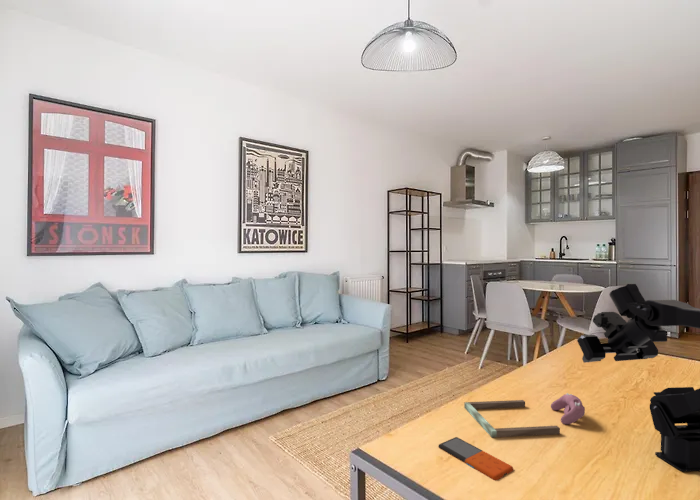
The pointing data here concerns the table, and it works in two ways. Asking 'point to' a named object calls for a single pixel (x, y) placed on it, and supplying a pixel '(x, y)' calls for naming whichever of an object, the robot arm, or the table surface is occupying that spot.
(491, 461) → the two-tone rubber eraser
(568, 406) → the video game controller
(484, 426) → the u-shaped rail frame
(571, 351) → the table surface
